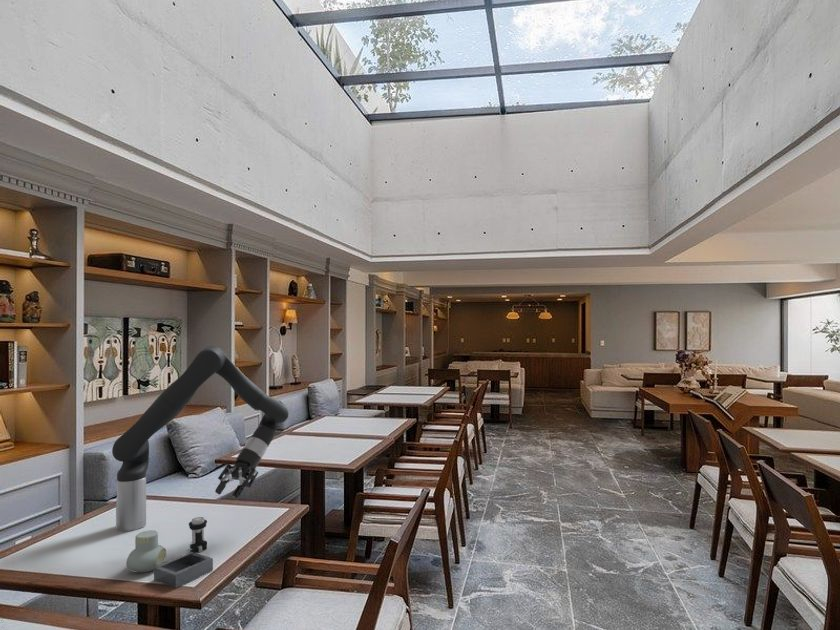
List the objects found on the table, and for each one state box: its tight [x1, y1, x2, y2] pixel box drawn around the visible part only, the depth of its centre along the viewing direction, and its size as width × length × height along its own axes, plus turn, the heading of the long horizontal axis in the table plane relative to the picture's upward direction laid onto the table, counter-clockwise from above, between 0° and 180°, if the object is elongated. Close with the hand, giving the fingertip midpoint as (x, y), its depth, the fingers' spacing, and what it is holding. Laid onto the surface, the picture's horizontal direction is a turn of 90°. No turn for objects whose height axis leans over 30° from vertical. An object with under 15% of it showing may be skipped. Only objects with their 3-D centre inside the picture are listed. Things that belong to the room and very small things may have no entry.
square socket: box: [153, 551, 214, 589], centre depth 147 cm, size 10×12×4 cm
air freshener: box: [125, 530, 167, 573], centre depth 152 cm, size 11×8×10 cm
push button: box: [185, 516, 208, 554], centre depth 163 cm, size 7×5×10 cm
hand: (225, 495), depth 173 cm, fingers open, 8 cm apart
